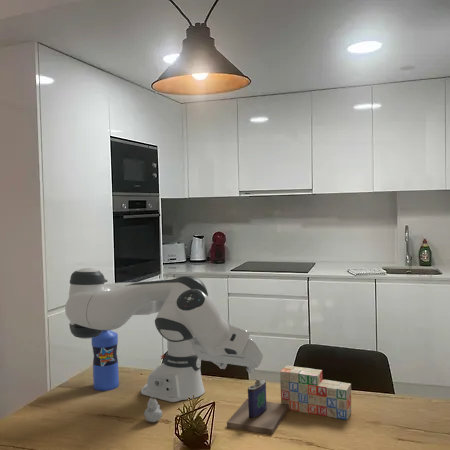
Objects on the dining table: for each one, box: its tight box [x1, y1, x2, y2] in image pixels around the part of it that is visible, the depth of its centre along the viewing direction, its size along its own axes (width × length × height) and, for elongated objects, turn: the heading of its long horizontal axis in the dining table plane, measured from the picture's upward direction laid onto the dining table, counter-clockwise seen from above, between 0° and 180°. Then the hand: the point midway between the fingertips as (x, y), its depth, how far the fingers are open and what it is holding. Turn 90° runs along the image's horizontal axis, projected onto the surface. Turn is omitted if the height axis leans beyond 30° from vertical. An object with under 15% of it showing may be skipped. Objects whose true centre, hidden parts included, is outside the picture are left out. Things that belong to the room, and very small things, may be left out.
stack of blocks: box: [279, 364, 352, 421], centre depth 154 cm, size 21×6×12 cm, turn 62°
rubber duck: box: [143, 397, 163, 423], centre depth 149 cm, size 5×7×8 cm
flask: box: [247, 378, 267, 419], centre depth 149 cm, size 9×3×11 cm, turn 148°
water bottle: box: [90, 330, 120, 392], centre depth 178 cm, size 9×9×25 cm
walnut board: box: [226, 398, 290, 435], centre depth 149 cm, size 14×18×2 cm
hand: (237, 368), depth 136 cm, fingers open, 8 cm apart
